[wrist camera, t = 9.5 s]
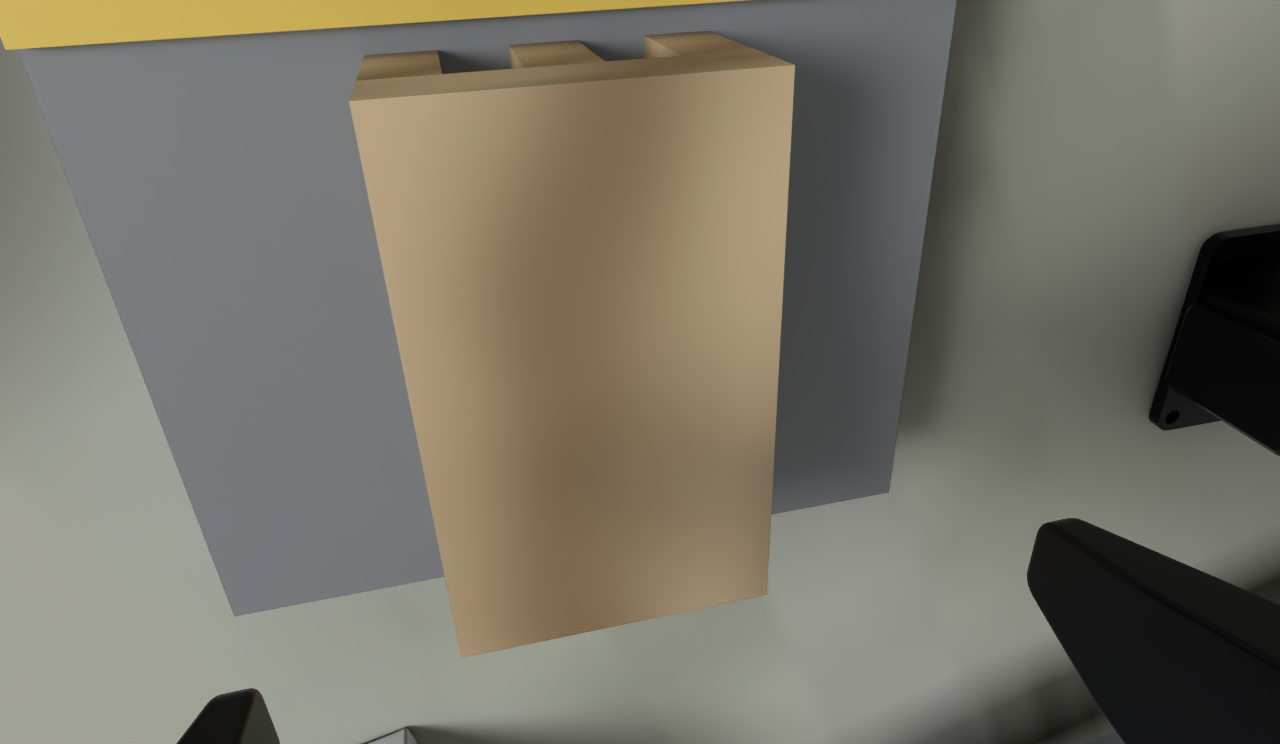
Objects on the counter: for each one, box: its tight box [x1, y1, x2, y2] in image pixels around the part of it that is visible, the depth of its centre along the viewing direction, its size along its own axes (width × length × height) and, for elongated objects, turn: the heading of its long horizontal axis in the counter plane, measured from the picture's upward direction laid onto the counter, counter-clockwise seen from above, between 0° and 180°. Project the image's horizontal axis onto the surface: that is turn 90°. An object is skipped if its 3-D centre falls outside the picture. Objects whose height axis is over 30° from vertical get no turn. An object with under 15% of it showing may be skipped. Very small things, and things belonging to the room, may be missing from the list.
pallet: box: [349, 31, 795, 658], centre depth 15 cm, size 6×10×4 cm, turn 2°
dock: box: [0, 0, 957, 616], centre depth 18 cm, size 16×13×3 cm
